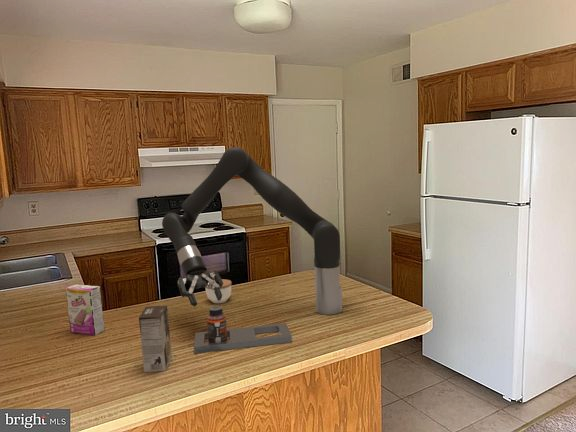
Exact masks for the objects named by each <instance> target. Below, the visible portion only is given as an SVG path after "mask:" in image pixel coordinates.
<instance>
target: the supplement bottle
mask: <svg viewBox="0 0 576 432" xmlns="http://www.w3.org/2000/svg"><path fill="white" fill-rule="evenodd" d="M208 310H209V314H207V316H206V324H207V325H206V326H207V331H208V342H209V343H216V342H225V341H227V330H226V329H227V318H226V313H224V312H223V307H222V306H221V305H216V306H215V305H214V306H211V307H210V308H209V309H208Z"/></svg>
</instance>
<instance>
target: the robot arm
mask: <svg viewBox="0 0 576 432" xmlns="http://www.w3.org/2000/svg"><path fill="white" fill-rule="evenodd" d="M235 176H238V177H239V178H241V179H242V180H244V181H245V182H247V184H249V185H250V186H251V187H252V188H253V189H254V190H255V191H256V193H257V194H258V195H259V196H260V197H261V199H263V200H264V201H265V202H266V203H267V204H268V205H269V206H270V207H272V209H274V210H275V211H276V212H278V213H279V214H280V215H282V216H283V217H284V218H287V219H288V220H290V221H292V222H294V223H296V224H297V225H299V226H300V227H301V228H302V229H303V230H304V231H305V232H306V233H307V234H308V235H309V236H310V237H311V238H312V239H313V247H314V248H313V251H314V255H313V256H314V259H313V265H314V268H313V269H314V287H315V288H314V289H315V291H314V293H315V311H316V313H317V314H320V315H326V316H327V315H336V314H339V313H343V287H342V285H341V277H340V276H341V275H340V273H341V272H340V271H341V270H340V268H341V267H340V260H341V236H340V232H339V230H338V228H337V227H336V226H335V224H333V223H332V222H330V221H328V220H327V219H326V218H324V217H322V216H321V215H319V214H318V213H317V212H315V211H314V210H313V209H312V208H310V207H309V206H308V205H307V203H306V202H305V201H304V200H303V199H302V198H301V197H300V196H299V195H298V194H296V192H295V191H293V190H292V189H291V188H290V187H288V186H287V185H286V184H285V183H284V182H282V181H281V180H280V179H278V178H277V177H275V176H274V175H273V174H271V173H269V172H267V171H266V170H265V169H263V168H262V167H261V166H260V165H259V164H258V163H257V162H256V161H255V160H254V159H253V158H252V157H251V156H250V155H249V153H247V151H245V150H244V149H243V148H241V147H237V146H233V147H229V148H228V149H226V150H225V151H224V152H223V154H222V156H221V158H220V159H219V161H218V163H217V164H216V166H215V167H214V168H213V170H212V171H210V174H209V175H208V176H207V177H206V178H204V180H203V181H202V182H201V183H200V184H199V185H198V186H197V187H196V188H195V189H194V190H193V191H192V192H191V193H190V194H189V196H188V197H187V198H185V200H184V201H183V202H182V205H181V209H182V210H183V211H184V212H183V214H182V215H180V214H178V213H175V212H168V213H167V214H165V215H164V216H163V218H162V221H161V225H162V230H163V232H164V234H165V235H166V237H167V238H168V240H169V241H170V242H171V243H172V245H173V247H174V249H175V252H176V254H177V259H178V263H179V265H180V267H181V269H182V272H183V274H184V276H185V278H183V277H182V276H181V277H179V278H178V280H177V287H178V290H179V293H180V296H181V297H182V298H185V297H187V298H188V300H189V303H190V305H191V306H193V307H194V308H195V307H197V305H198V302H197V299H196V296H195V293H193V292H194V290H195V289H196V290H198V289H200V288H206V287H208V288H211V289H213V290H214V293H215V295H216V297H217V300H218V301H219V300H221V298H222V293H221V291H220V288H222V285H223V281H222V279H223V278H221V275H220V274H219V272H218V270H216V269H215V270H214V271H213V272H209V270H208V269H207V266H206V264H205V262H204V261H205V260H203V257H202V255H201V252H200V250H199V249H198V247H197V244H196V242H195V240H194V238H193V236H192V235H191V234H190V233H189V232H190V231H191V230H192V228H193V226H194V225H195V224H196V221H197V219H198V217H199V215H200V214H201V213H202V212H203V211H204V210H205V209H206V208H207V207H208V205H210V203H211V202H213V200H214V199H215V197H216V196H217V194H218V193H219V192H220V190H221V189H222V188H223V187H225V185H226V184H227V183H228V182H229V181H231V180H232V179H233V178H234V177H235ZM213 280H215V282H216V283H215V282H214V281H213ZM208 282H209V283H210V284H209V283H208ZM186 283H187V284H188V286H190V287H189V289H188V290H187V289H186V286H185V284H186ZM205 286H206V287H205Z"/></svg>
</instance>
